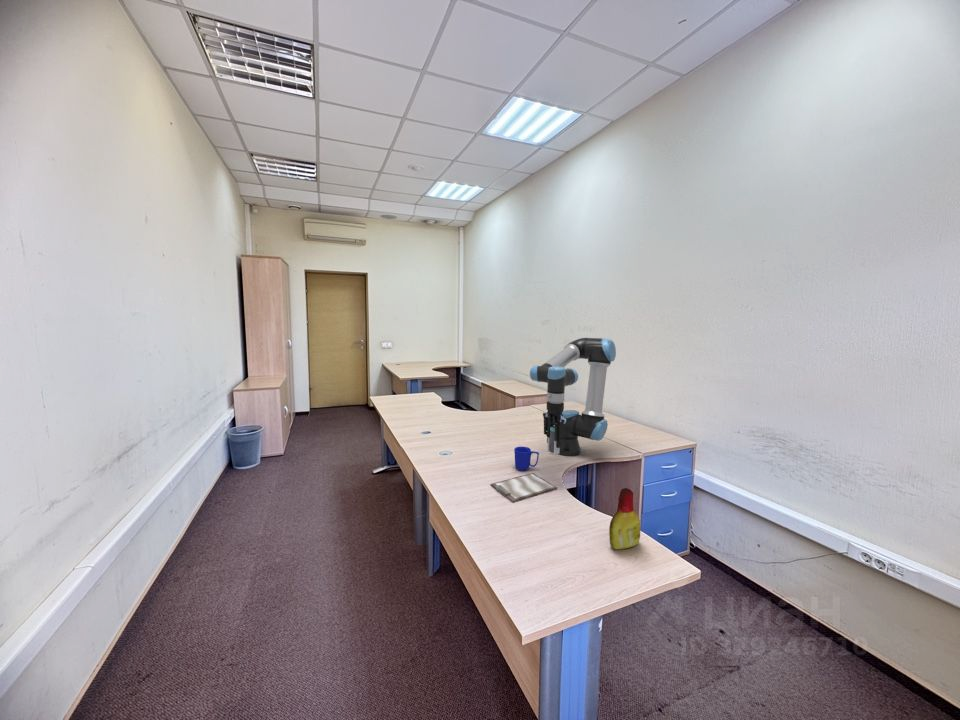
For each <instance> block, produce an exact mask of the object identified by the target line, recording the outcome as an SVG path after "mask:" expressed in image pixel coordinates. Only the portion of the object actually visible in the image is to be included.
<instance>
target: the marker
mask: <svg viewBox="0 0 960 720" xmlns="http://www.w3.org/2000/svg"><path fill="white" fill-rule="evenodd" d="M554 440H556V437H555V426H550V450H549V451H550V452H548V453H549V455H551V456H555V455H554Z"/></svg>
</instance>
